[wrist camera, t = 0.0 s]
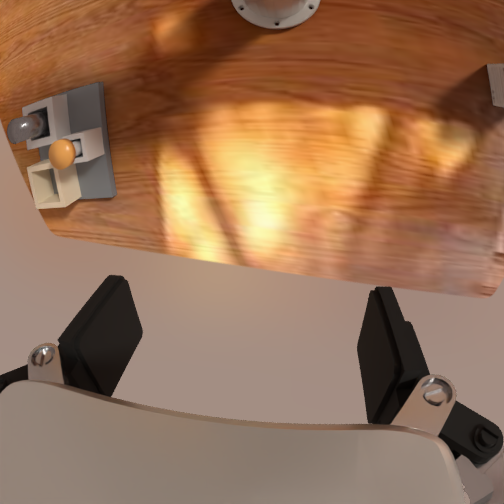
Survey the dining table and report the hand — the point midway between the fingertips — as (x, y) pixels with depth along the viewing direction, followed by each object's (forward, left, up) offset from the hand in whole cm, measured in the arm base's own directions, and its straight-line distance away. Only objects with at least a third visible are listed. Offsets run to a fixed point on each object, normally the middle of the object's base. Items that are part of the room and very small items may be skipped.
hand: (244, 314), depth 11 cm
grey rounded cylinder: (-8, -39, -35) cm, 53 cm away
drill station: (-3, -36, -37) cm, 52 cm away
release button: (-3, -31, -32) cm, 44 cm away
